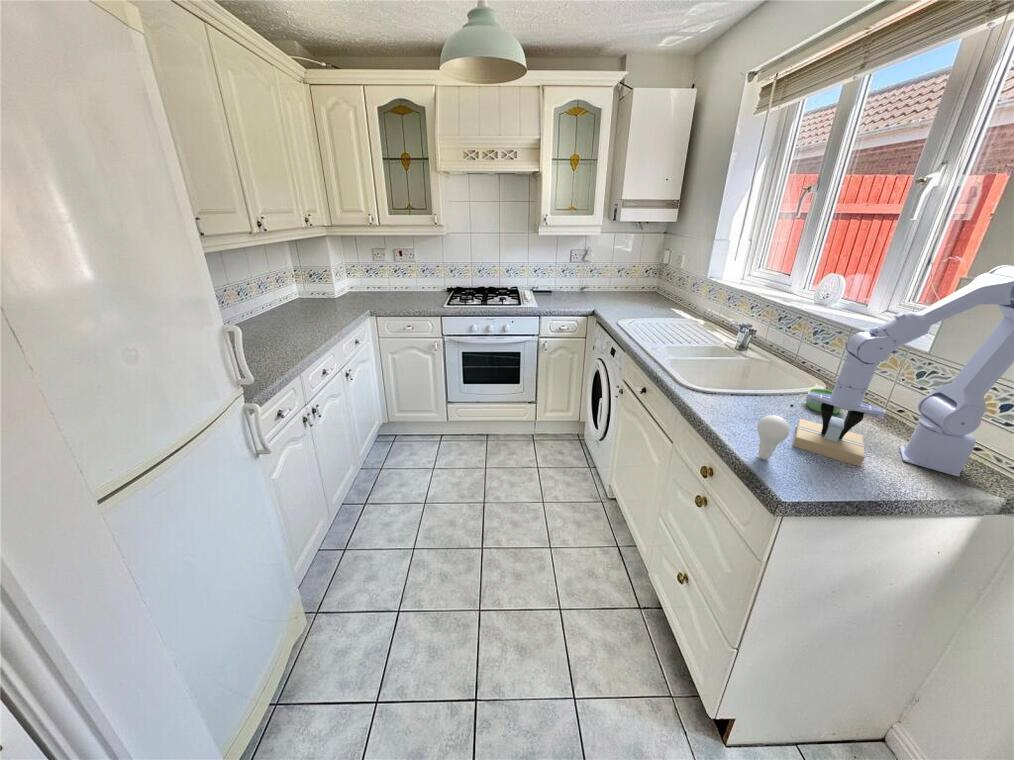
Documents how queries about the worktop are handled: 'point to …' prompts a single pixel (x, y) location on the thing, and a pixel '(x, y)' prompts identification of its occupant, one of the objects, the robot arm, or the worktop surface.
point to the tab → (834, 429)
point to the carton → (829, 443)
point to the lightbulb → (771, 434)
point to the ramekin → (817, 405)
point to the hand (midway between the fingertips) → (831, 435)
